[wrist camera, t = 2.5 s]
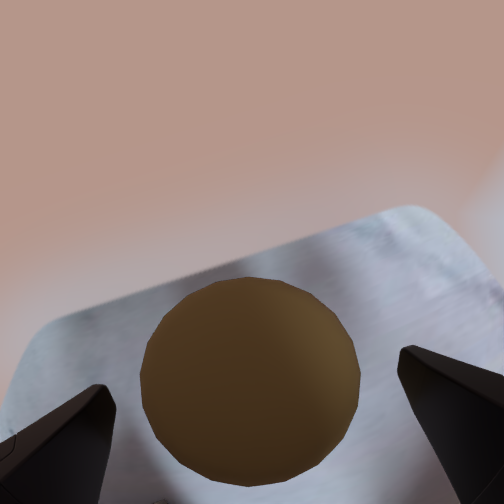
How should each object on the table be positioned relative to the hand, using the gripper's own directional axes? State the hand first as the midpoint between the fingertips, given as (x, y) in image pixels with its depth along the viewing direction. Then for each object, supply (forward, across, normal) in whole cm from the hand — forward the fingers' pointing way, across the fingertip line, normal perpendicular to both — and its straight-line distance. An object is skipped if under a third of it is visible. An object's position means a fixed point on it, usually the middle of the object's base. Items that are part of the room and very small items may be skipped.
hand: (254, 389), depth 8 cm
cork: (+6, 0, +6) cm, 8 cm away
